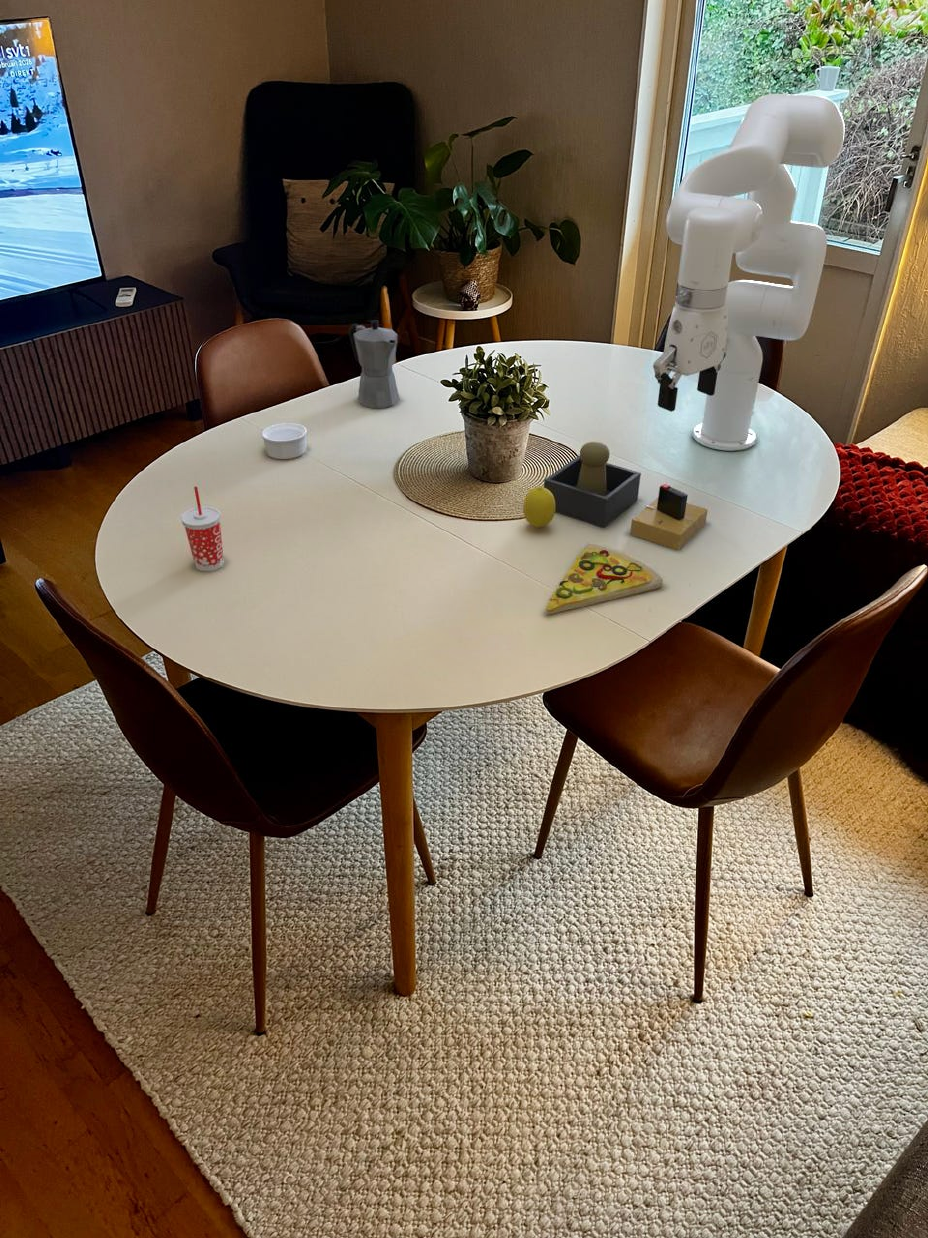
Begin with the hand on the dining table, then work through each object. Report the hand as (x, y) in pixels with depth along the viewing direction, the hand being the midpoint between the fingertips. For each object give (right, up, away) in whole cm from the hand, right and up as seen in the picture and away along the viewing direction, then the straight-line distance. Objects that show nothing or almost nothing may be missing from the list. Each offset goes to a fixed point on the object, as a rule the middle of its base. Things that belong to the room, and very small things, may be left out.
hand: (686, 400), depth 156 cm
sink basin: (-13, -15, +17) cm, 26 cm away
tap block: (-1, -20, +10) cm, 22 cm away
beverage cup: (-78, -27, 0) cm, 83 cm away
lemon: (-23, -20, +10) cm, 32 cm away
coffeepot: (-56, +13, +57) cm, 81 cm away
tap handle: (-1, -18, +8) cm, 19 cm away
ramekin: (-72, -2, +35) cm, 80 cm away
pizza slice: (-17, -31, -6) cm, 36 cm away
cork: (-13, -14, +17) cm, 26 cm away
